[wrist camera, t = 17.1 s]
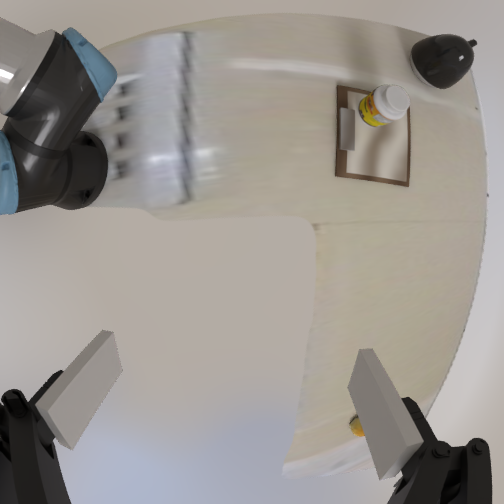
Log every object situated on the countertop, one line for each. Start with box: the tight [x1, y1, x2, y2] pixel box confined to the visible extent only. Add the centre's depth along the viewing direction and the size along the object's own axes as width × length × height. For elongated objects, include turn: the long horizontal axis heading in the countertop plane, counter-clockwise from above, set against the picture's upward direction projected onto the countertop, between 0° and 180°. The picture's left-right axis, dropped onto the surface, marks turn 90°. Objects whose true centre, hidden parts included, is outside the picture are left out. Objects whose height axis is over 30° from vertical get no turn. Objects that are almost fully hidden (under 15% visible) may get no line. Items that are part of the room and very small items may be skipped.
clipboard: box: [335, 85, 410, 187], centre depth 39 cm, size 14×16×2 cm
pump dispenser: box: [410, 34, 477, 89], centre depth 27 cm, size 10×10×15 cm
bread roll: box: [349, 417, 365, 436], centre depth 54 cm, size 8×9×4 cm
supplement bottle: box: [358, 85, 410, 127], centre depth 33 cm, size 6×6×10 cm
